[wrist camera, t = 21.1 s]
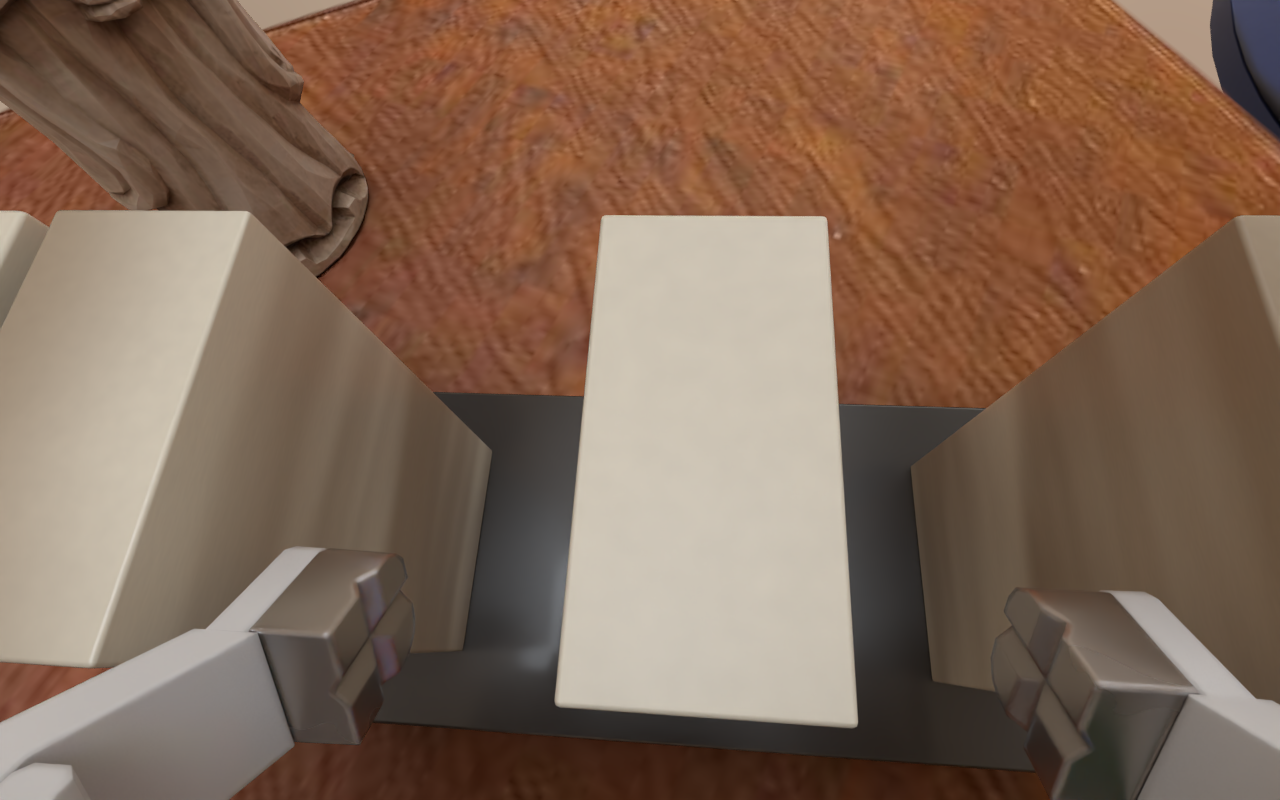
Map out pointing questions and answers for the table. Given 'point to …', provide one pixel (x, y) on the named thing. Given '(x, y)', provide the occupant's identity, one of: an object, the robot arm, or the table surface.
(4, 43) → the sculpture
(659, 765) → the table surface
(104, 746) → the robot arm
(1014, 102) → the table surface
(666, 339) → the cream rectangular block
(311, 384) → the book trough
